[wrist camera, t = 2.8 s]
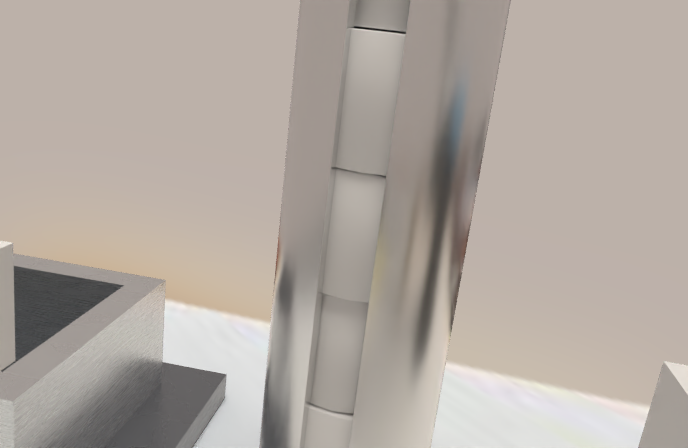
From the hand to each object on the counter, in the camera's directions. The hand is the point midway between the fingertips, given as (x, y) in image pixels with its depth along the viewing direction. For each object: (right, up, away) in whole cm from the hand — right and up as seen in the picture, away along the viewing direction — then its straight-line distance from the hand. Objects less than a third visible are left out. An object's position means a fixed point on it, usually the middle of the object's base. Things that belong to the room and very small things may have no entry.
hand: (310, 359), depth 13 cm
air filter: (0, -11, +13) cm, 17 cm away
